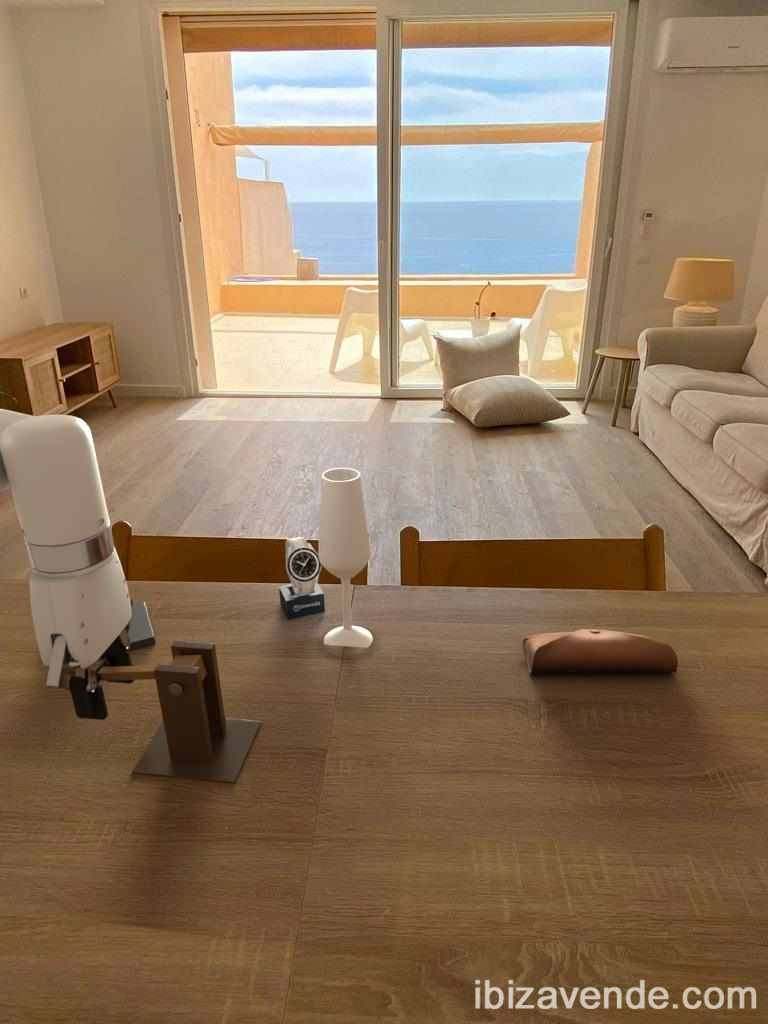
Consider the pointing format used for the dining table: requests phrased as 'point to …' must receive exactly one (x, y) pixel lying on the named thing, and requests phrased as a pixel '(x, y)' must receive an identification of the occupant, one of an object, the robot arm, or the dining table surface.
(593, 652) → the sunglasses case
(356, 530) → the champagne flute
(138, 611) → the button box
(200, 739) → the switch bracket
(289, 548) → the watch
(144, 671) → the lever
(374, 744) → the dining table surface
